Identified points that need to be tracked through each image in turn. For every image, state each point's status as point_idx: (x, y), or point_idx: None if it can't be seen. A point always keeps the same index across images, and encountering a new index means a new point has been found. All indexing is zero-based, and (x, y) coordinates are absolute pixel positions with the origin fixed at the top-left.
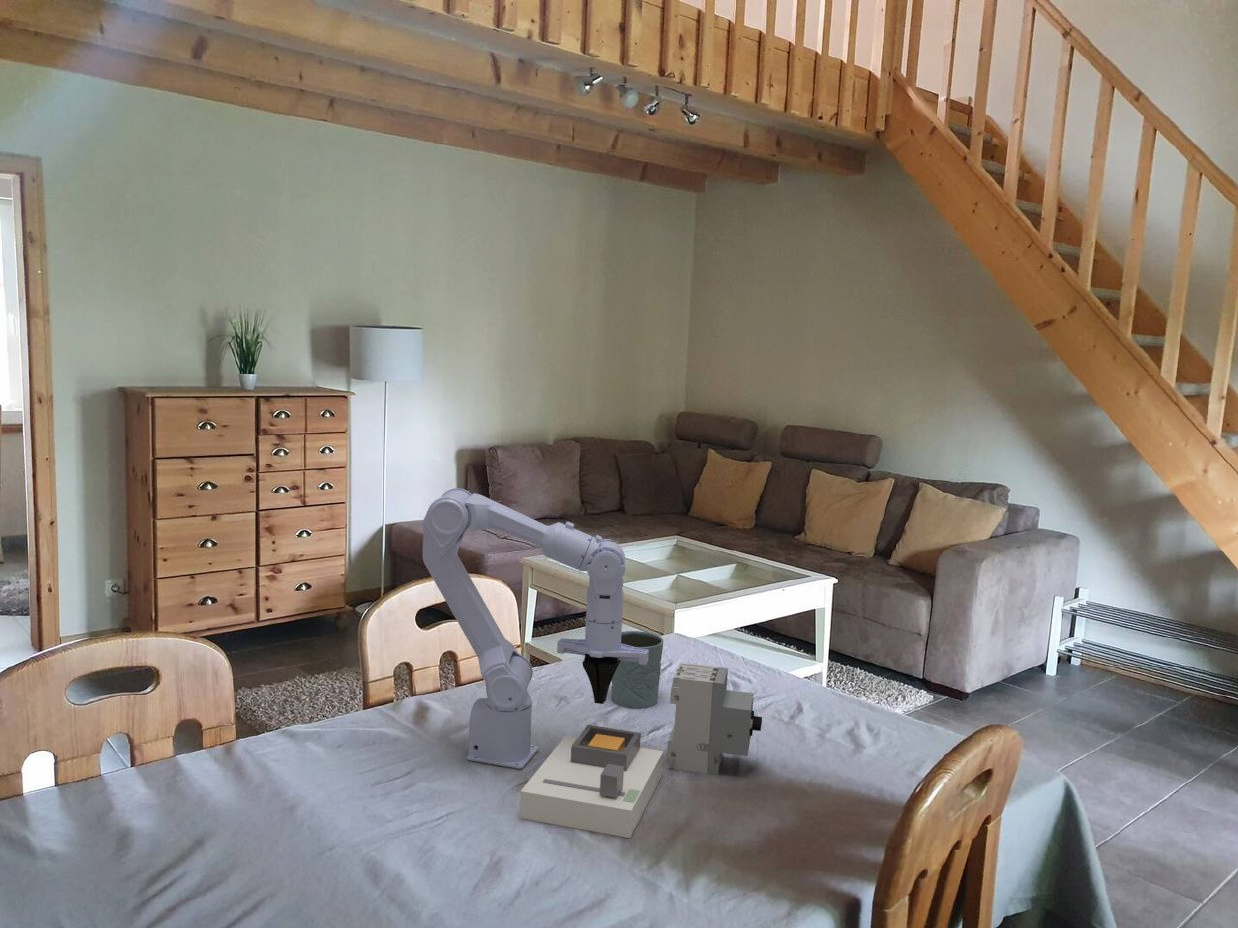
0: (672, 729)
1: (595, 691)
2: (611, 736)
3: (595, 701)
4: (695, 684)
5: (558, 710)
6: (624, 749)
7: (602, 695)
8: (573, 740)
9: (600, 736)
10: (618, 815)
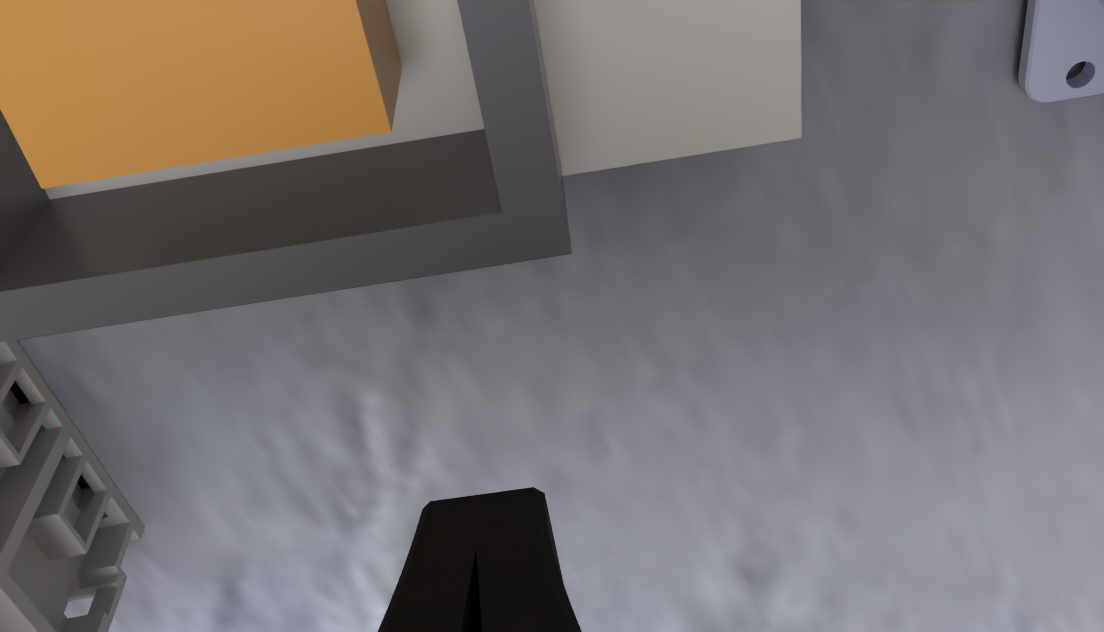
0: (19, 609)
1: (519, 616)
2: (197, 151)
3: (524, 501)
4: None
5: (1026, 614)
6: None
7: (402, 592)
8: (683, 82)
9: (305, 85)
10: None
